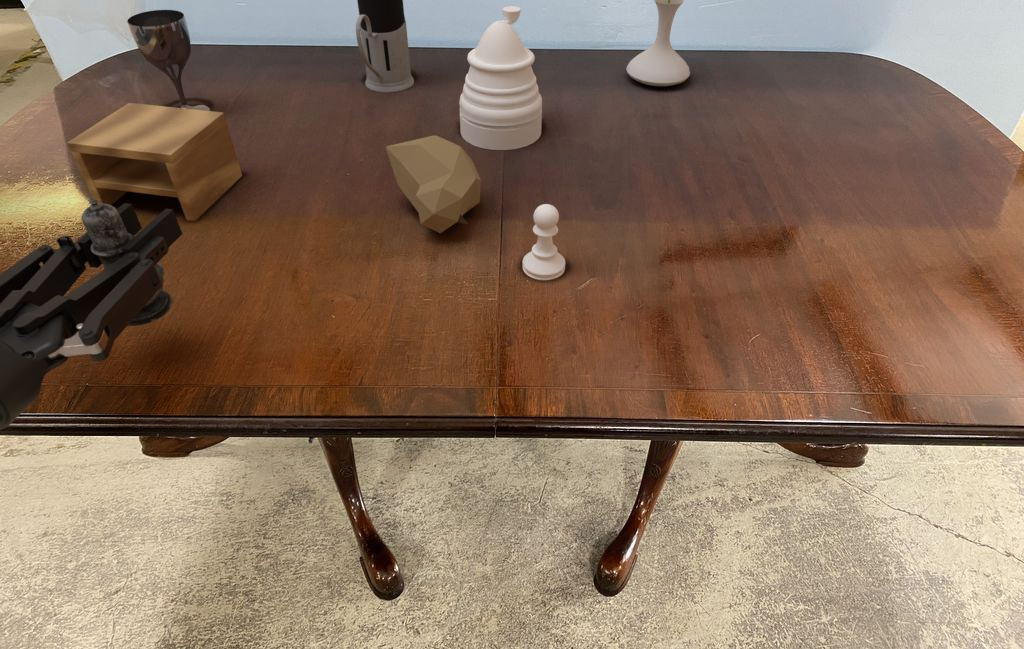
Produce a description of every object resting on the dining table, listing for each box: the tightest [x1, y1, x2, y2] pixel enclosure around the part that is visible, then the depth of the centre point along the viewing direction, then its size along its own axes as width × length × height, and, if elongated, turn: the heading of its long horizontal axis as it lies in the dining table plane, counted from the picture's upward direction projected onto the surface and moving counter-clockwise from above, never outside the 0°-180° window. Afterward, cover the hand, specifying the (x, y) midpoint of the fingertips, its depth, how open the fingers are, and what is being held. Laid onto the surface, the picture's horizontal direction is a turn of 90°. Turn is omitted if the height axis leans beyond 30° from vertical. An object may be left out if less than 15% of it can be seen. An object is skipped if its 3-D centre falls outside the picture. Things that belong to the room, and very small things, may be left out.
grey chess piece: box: [81, 196, 174, 327], centre depth 59 cm, size 6×6×12 cm
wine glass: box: [126, 9, 211, 111], centre depth 105 cm, size 8×8×15 cm
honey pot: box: [458, 5, 543, 151], centre depth 100 cm, size 13×13×18 cm
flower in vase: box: [625, 0, 691, 87], centre depth 113 cm, size 13×11×25 cm
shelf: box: [66, 102, 243, 222], centre depth 87 cm, size 14×12×10 cm
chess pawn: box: [521, 203, 567, 281], centre depth 75 cm, size 5×5×9 cm
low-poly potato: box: [385, 134, 482, 234], centre depth 84 cm, size 15×11×12 cm
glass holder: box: [355, 0, 415, 93], centre depth 113 cm, size 9×14×15 cm, turn 166°
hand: (153, 218), depth 63 cm, fingers closed on grey chess piece, 4 cm apart
